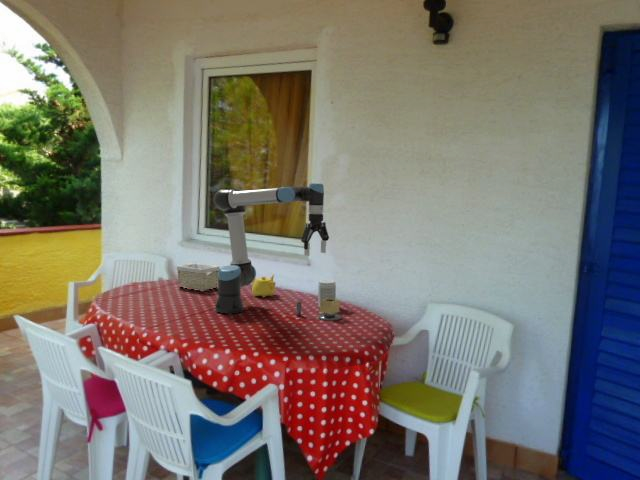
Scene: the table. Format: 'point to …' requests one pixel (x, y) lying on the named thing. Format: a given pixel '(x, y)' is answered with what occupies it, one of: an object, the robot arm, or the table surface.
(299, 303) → the stand rod
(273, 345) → the table surface
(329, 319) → the hub
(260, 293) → the teapot
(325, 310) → the collar
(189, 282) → the storage basket
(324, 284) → the supplement tub
